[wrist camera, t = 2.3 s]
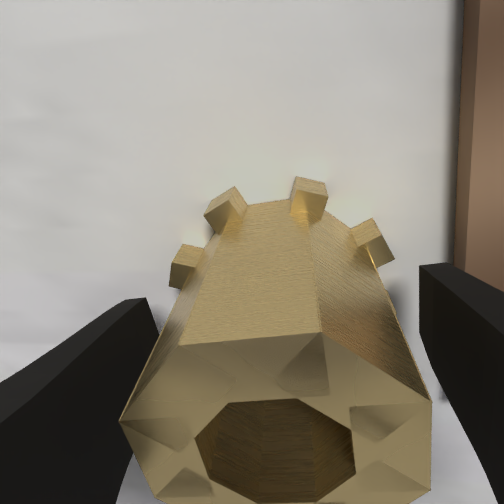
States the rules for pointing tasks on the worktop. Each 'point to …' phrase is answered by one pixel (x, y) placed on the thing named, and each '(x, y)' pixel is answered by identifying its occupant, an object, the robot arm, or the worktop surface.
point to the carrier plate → (481, 145)
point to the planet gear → (282, 367)
